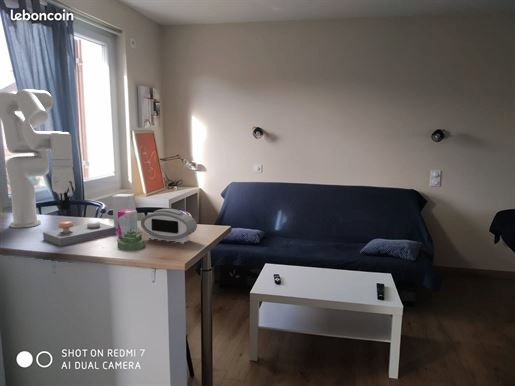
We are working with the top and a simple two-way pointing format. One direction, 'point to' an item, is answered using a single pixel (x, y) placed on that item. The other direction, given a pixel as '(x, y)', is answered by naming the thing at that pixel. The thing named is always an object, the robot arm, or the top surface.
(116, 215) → the skincare box
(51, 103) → the robot arm
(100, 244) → the top surface
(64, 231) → the terracotta button
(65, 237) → the button panel
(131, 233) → the decorative artifact
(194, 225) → the alarm clock
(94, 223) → the grey button
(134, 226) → the supplement box
